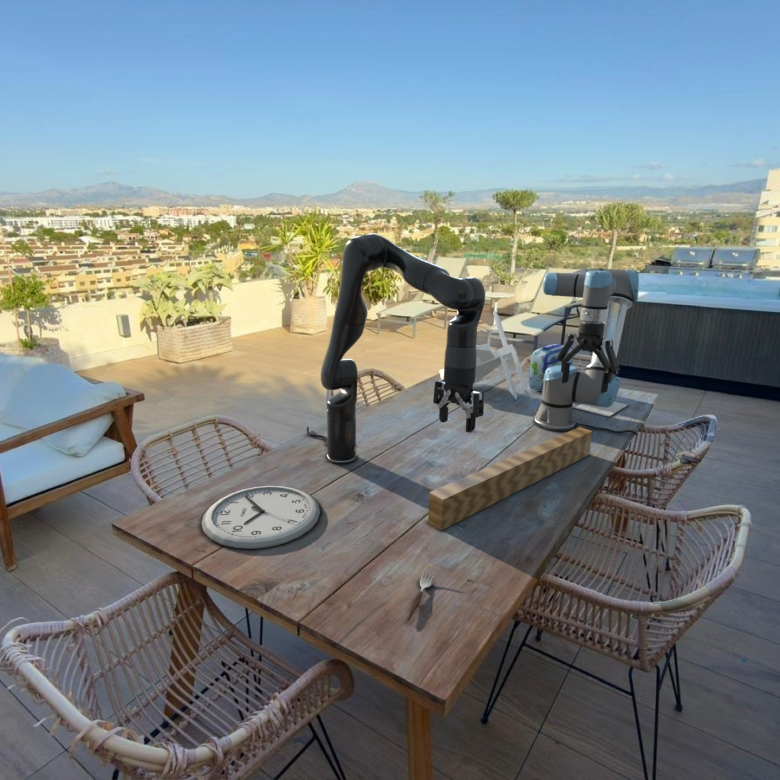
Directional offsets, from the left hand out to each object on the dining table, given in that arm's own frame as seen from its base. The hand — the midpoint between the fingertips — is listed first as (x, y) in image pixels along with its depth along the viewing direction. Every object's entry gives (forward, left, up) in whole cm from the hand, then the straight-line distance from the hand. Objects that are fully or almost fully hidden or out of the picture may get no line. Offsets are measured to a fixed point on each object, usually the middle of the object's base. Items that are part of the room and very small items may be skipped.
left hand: (456, 426), depth 129 cm
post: (-10, +29, -26) cm, 40 cm away
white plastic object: (-92, +67, -26) cm, 117 cm away
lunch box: (-86, +102, -26) cm, 136 cm away
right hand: (-19, +58, -1) cm, 61 cm away
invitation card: (-56, +106, -26) cm, 123 cm away
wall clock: (-20, -46, -26) cm, 56 cm away
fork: (+24, -21, -26) cm, 42 cm away
